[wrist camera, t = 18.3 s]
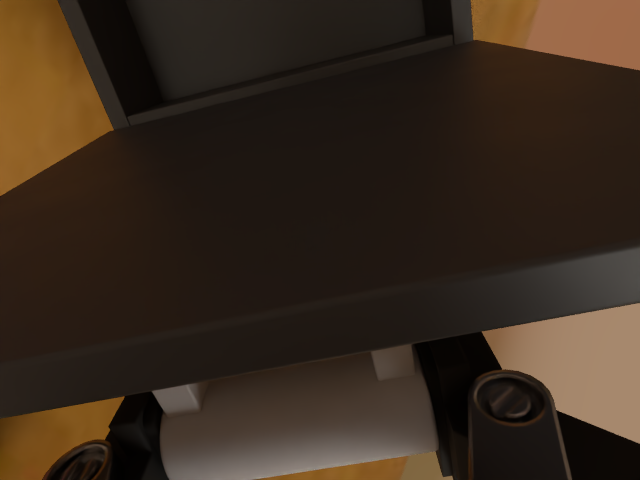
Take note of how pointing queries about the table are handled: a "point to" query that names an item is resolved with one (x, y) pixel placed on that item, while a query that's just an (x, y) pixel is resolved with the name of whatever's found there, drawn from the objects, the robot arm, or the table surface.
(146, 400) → the robot arm
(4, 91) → the table surface
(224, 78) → the open-top storage bin
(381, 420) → the lid
